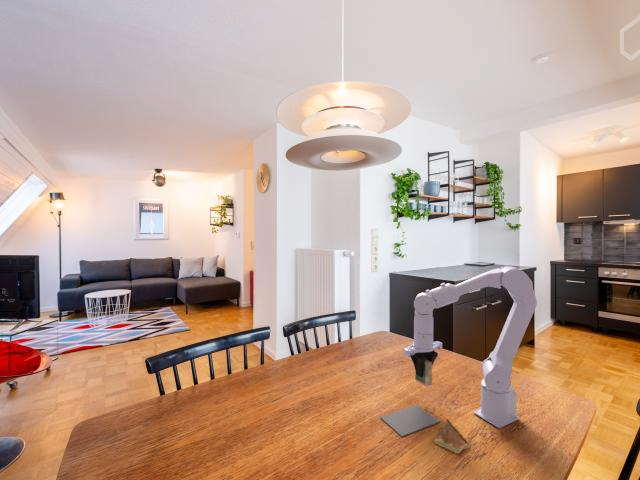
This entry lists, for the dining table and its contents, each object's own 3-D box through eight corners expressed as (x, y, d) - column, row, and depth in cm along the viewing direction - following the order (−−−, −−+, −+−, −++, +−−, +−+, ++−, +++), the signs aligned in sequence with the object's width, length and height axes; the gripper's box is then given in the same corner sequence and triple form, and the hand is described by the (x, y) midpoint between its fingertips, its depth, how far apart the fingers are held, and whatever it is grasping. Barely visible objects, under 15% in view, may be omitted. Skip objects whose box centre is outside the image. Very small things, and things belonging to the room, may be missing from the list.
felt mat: (416, 405, 94) (416, 404, 94) (440, 421, 86) (440, 420, 86) (380, 418, 88) (380, 417, 88) (401, 437, 80) (402, 435, 80)
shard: (447, 424, 86) (447, 418, 86) (476, 436, 81) (476, 429, 81) (432, 444, 78) (432, 437, 78) (464, 459, 73) (464, 452, 73)
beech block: (420, 378, 98) (421, 356, 98) (431, 384, 94) (432, 362, 94) (415, 379, 97) (415, 358, 97) (425, 386, 93) (426, 363, 93)
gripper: (430, 325, 102) (430, 365, 102) (396, 331, 95) (396, 374, 96) (447, 331, 96) (447, 373, 96) (413, 338, 89) (412, 384, 90)
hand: (423, 374), depth 96 cm, fingers closed on beech block, 2 cm apart
